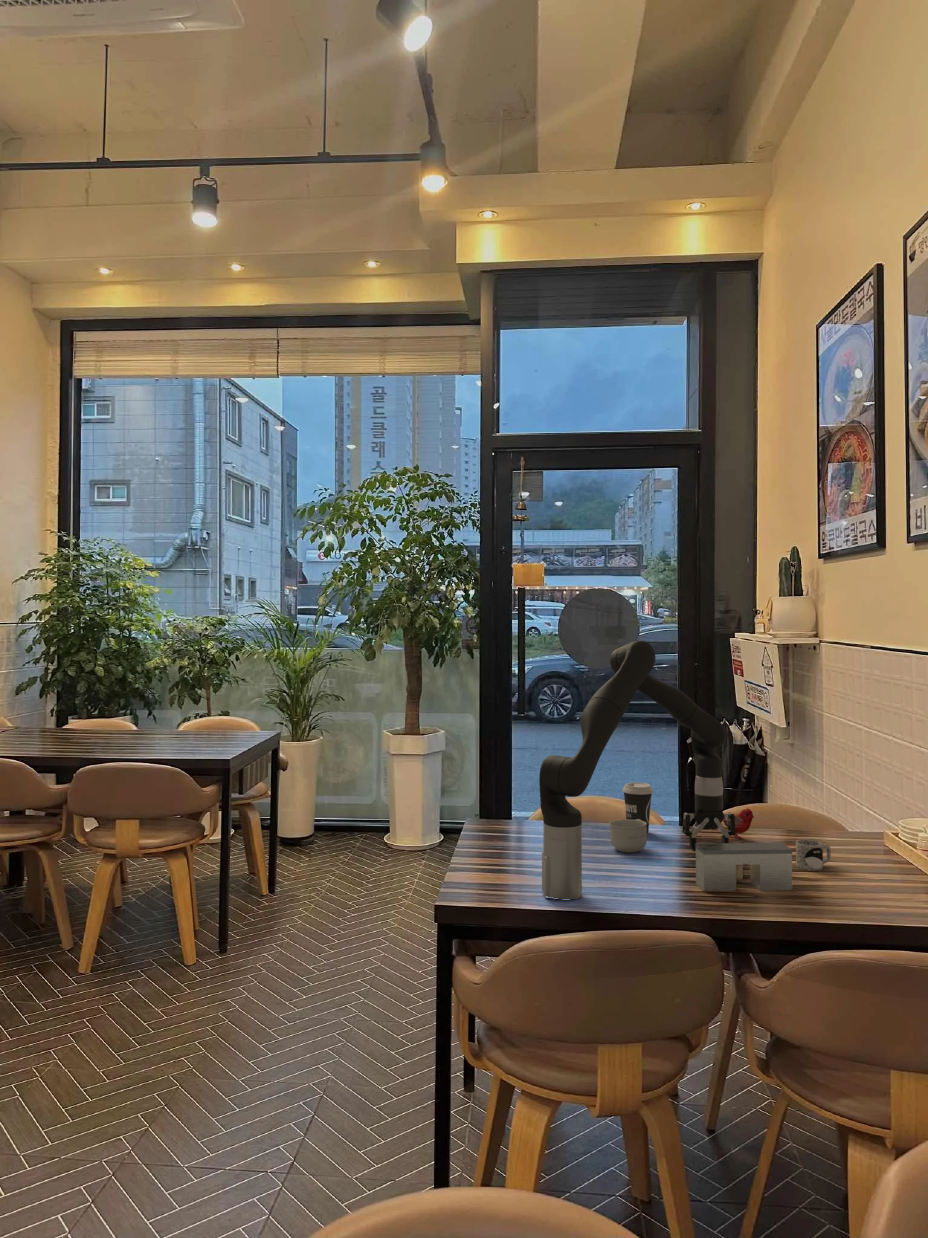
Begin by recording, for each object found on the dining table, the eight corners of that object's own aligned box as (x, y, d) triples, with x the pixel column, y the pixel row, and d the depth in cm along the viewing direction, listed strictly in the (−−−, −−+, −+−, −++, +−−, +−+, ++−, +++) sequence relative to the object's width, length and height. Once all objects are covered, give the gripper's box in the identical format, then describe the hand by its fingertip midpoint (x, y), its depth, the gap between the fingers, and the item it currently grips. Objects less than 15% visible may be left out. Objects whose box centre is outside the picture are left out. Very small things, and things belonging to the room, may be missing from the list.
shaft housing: (704, 891, 198) (704, 850, 198) (695, 883, 204) (695, 843, 204) (792, 890, 199) (792, 849, 199) (781, 882, 205) (780, 842, 205)
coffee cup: (630, 827, 263) (629, 781, 263) (658, 831, 257) (657, 784, 257) (617, 833, 255) (617, 785, 255) (645, 837, 249) (645, 789, 249)
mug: (807, 872, 214) (807, 846, 214) (790, 865, 221) (790, 840, 221) (839, 869, 217) (838, 844, 217) (821, 862, 223) (821, 838, 223)
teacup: (631, 857, 228) (631, 828, 228) (601, 849, 236) (601, 822, 236) (660, 848, 237) (660, 821, 237) (630, 841, 245) (630, 814, 245)
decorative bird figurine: (750, 844, 242) (750, 810, 242) (709, 831, 258) (709, 799, 258) (758, 843, 243) (757, 810, 243) (717, 830, 259) (716, 798, 259)
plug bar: (727, 880, 207) (727, 865, 207) (698, 856, 229) (698, 842, 229) (742, 880, 207) (742, 864, 207) (712, 856, 229) (712, 842, 229)
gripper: (728, 789, 230) (729, 847, 230) (679, 789, 230) (679, 847, 229) (739, 794, 223) (739, 854, 222) (688, 795, 222) (688, 854, 222)
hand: (708, 850), depth 226 cm, fingers open, 8 cm apart
